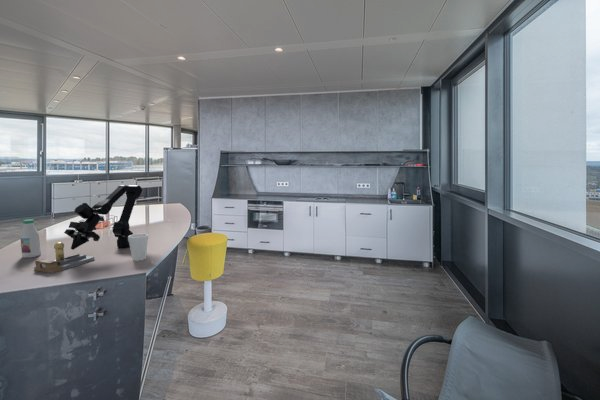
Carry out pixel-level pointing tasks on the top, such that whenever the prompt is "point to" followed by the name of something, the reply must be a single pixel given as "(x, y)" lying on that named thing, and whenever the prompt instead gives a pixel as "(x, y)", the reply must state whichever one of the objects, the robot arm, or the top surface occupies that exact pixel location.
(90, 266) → the top surface
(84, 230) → the robot arm
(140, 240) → the foam cup
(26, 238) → the milk bottle
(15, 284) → the top surface
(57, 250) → the brass ball knob
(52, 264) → the grey railed plate
